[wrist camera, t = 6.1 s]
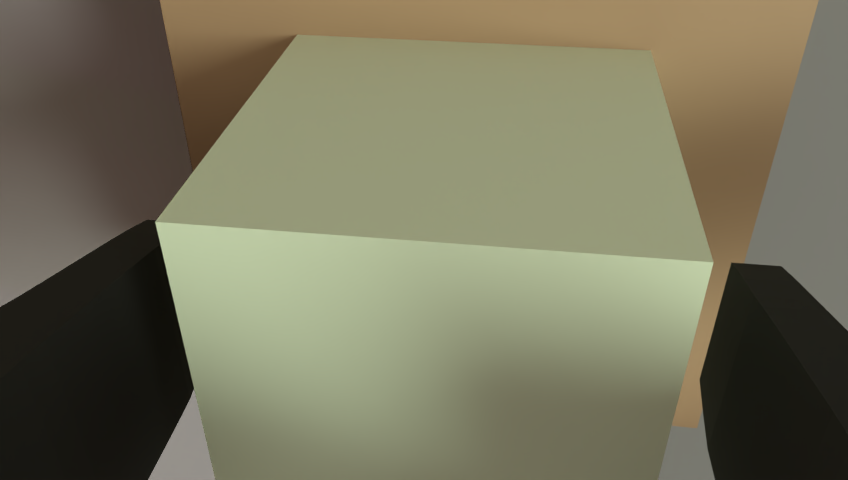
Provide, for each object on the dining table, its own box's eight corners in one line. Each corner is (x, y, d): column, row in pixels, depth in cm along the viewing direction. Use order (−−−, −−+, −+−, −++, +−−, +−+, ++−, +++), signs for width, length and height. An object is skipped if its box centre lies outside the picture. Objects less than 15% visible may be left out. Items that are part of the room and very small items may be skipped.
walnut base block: (669, 296, 18) (697, 428, 15) (287, 266, 19) (233, 384, 16) (766, -134, 13) (841, -79, 10) (237, -145, 14) (140, -97, 11)
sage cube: (650, 50, 11) (712, 262, 7) (604, 326, 14) (627, 595, 10) (296, 34, 11) (154, 222, 7) (322, 303, 14) (231, 547, 10)
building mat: (998, 554, 22) (1005, 567, 22) (303, 479, 24) (299, 490, 24) (1493, -160, 12) (1520, -156, 11) (213, -180, 14) (205, -177, 14)
